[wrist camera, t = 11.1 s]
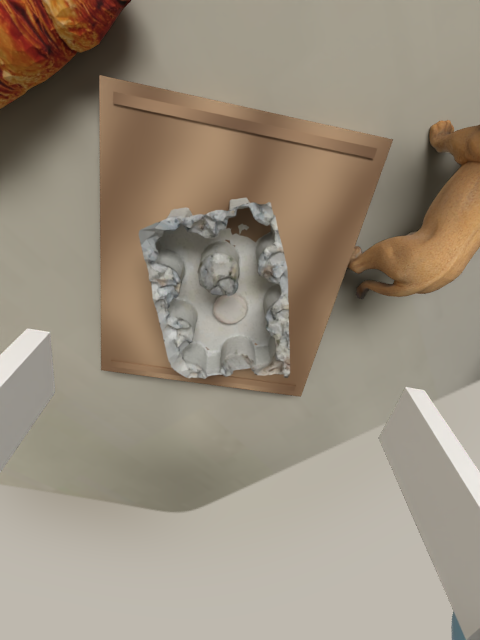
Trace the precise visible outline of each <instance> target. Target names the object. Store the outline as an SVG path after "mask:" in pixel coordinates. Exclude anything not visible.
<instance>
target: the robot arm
mask: <svg viewBox="0 0 480 640" xmlns="http://www.w3.org/2000/svg"><path fill="white" fill-rule="evenodd" d="M54 393H55V384H54V372H53V360H52V348H51V336H50V332H46V331H40V330H33V329H26V330H25V331H24V332H23V333H22V334H21V335H20V336H19V337H18V338H17V339H16V340H15V341H14V342H13V343H12V344H11V345H10V346H9V347H8V348H7V349H6V350H5V351H4V352H3V353H2V354H1V355H0V472H1V471H2V469H3V468H4V466H5V465H6V463H7V462H8V460H9V459H10V458H11V456H12V455H13V453H14V452H15V450H16V449H17V447H18V446H19V444H20V443H21V441H22V440H23V439H24V437H25V436H26V434H27V433H28V431H29V430H30V428H31V427H32V425H33V424H34V423H35V421H36V420H37V418H38V417H39V415H40V414H41V412H42V411H43V409H44V408H45V406H46V405H47V404H48V402H49V401H50V399H51V398H52V396H53V395H54ZM379 440H380V442H381V445H382V447H383V450H384V452H385V454H386V457H387V459H388V461H389V463H390V465H391V468H392V470H393V472H394V475H395V477H396V479H397V482H398V484H399V486H400V489H401V491H402V493H403V496H404V498H405V500H406V503H407V505H408V507H409V509H410V512H411V514H412V516H413V519H414V521H415V523H416V526H417V528H418V530H419V533H420V535H421V537H422V539H423V542H424V544H425V546H426V548H427V551H428V553H429V556H430V558H431V560H432V562H433V565H434V567H435V569H436V572H437V574H438V576H439V578H440V581H441V583H442V585H443V588H444V590H445V592H446V595H447V597H448V599H449V602H450V604H451V606H452V609H453V616H452V640H480V471H479V470H478V468H477V467H476V465H475V464H474V463H473V461H472V460H471V458H470V457H469V455H468V454H467V452H466V451H465V449H464V448H463V446H462V445H461V443H460V442H459V441H458V439H457V438H456V436H455V435H454V433H453V432H452V430H451V429H450V428H449V426H448V424H447V423H446V421H445V420H444V419H443V417H442V416H441V414H440V413H439V411H438V410H437V408H436V407H435V405H434V404H433V402H432V401H431V399H430V398H429V397H428V395H427V394H426V392H425V391H424V390H420V389H414V388H407V387H405V389H404V391H403V392H402V394H401V396H400V398H399V400H398V402H397V404H396V406H395V408H394V409H393V411H392V413H391V415H390V417H389V419H388V421H387V423H386V425H385V426H384V429H383V430H382V432H381V434H380V436H379Z"/></svg>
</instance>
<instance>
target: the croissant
mask: <svg viewBox="0 0 480 640" xmlns="http://www.w3.org/2000/svg"><path fill="white" fill-rule="evenodd" d="M130 1H131V0H0V109H1V108H3V107H4V106H6V105H7V104H9V103H11V102H12V101H14V100H16V99H17V98H19V97H21V96H22V95H24V94H25V93H26V91H27V90H29V89H30V88H32V87H34V86H36V85H38V84H40V83H42V82H44V81H46V80H47V79H48V78H50V77H51V76H52V75H54V74H55V73H56V72H58V71H59V70H60V69H61V68H62V67H63V66H64V65H65V64H67V63H68V62H69V61H70V60H71V59H72V58H73V57H74V56H75V55H76V53H77V52H80V53H81V52H84V51H86V50H90V49H91V48H93V47H95V46H97V45H99V43H100V41H101V40H102V39H103V37H104V36H105V34H106V33H107V32H108V30H109V29H110V27H111V26H112V24H113V23H114V21H115V20H116V18H117V17H118V15H119V14H120V12H121V10H122V9H123V8H124V7H125V6H126V5H127V4H128V3H129V2H130Z"/></svg>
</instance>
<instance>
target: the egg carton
mask: <svg viewBox="0 0 480 640" xmlns="http://www.w3.org/2000/svg"><path fill="white" fill-rule="evenodd" d="M244 208H250V211H251V213H252V215H253V217H254V218H255V220H256V221H258V222H259V223H261V224H263V225H265V226H268V225H270V226H271V232H269V233H267V234H266V235H264V236H262V237H260V238H259V239H258V240H257V242H254V241H253V240H251V239H250V238H249V237H245V236H240V233H241V231H242V230H244V229H245V230H247V229H248V228H249V227H248V226H246V225H243V224H241V225H239V226H238V228H239V235H238V234H234V235H232V233H231V229H232V228H231V229H230V228H227V229H226V226H227V223H228V219H229V218H231V217H235V216H236V213H237V209H244ZM139 239H140V243H141V247H142V252H143V256H144V260H145V262H146V264H147V268H148V273H149V281H150V282H151V286H152V296H153V302H154V305H155V308H156V311H157V314H158V319H159V323H160V327H161V330H162V333H163V339H164V344H165V348H166V352H167V357H168V360H169V363H170V365H171V367H172V368H173V369H174V370H175V371H176V372H178V373H179V374H181V375H183V376H184V377H186V378H203V379H206V378H207V377H208V376H212V375H224V376H225V377H227V376H231V375H232V374H233V371H234V370H241V369H248V368H251V370H252V371H253V372H254V374H256V375H262V376H265V375H273V374H283V375H284V378H288V377H289V375H290V340H289V302H288V271H287V264H286V260H285V255H284V251H283V246H282V243H281V239H280V235H279V231H278V227H277V221H276V217H275V215H274V213H273V210H272V206H271V203H270V202H268V203H267V204H257V203H254V202H253V203H250V202H249V200H248V199H247V198H239V199H231V200H230V204H229V210H228V211H225V210H215V211H212V212H209V213H207V214H206V215H204V214H199V215H194V216H193V215H192V213H191V211H190V210H189V208H186V207H185V208H179V209H173V210H171V212H170V214H169V215H168V217H167V218H166V219H165V220H163V221H160V222H157V223H154V224H152V225H150V226H147V227H145V228H143V229H141V230H139ZM225 239H226V240H230V243H228V242H227V241H225ZM234 245H236V246H235V247H234ZM255 343H256V344H258V345H255ZM206 347H207V348H208V349H209V350H207V348H206Z"/></svg>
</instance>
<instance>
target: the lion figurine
mask: <svg viewBox="0 0 480 640" xmlns="http://www.w3.org/2000/svg"><path fill="white" fill-rule="evenodd" d="M429 137H430V143H431V145H432V146H433V147H434V148H435V149H436V150H437V152H439V153H444V152H449V153H451V154H452V155H453V156H454V159H455V161H456V162H457V163H459V164H461V165H462V166H461V167H460V168H459V169H458V170H457V172H456V173H455V174H454V175H453V176H452V177H451V178H450V179H449V180H448V182H447V183H446V184H445V185H444V186H443V188H442V189H441V190H440V192H439V193H438V195H437V196H436V198H435V199H434V201H433V202H432V204H431V205H430V207H429V209H428V211H427V213H426V215H425V217H424V219H423V225H422V227H421V228H420V229H419V230H418V231H417V232H415V231H414V232H411V233H409V234H408V235H407V236H396V237H393V238H389V239H386V240H383V241H381V242H379V243H377V244H375V245H373V246H372V247H371V248H369V249H368V250H367V251H365V252H364V253H363V254H362V251H361V248H360V247H359V246H355V247H354V250H353V253H352V255H351V258H350V261H349V264H348V266H347V267H348V268H349V269H351V270H352V271H354V272H355V273H358V274H359V273H361V272H363V271H364V270H367V269H378V270H380V271H382V272H384V273H385V274H386V275H388V276H389V277H390V278H392V279H393V280H394V283H393V284H387V283H382V282H377V281H373V280H366V281H364V282H362V283H361V284H360V285H359V286H358V287H357V289H356V290H357V292H356V296H357V298H360V299H363V298H364V296H365V294H366V293H367V291H368V290H369V289H371V290H373V291H375V292H377V293H380V294H383V295H387V296H397V297H401V296H408V295H412V294H415V293H418V294H426V293H430V292H433V291H435V290H438V289H440V288H442V287H443V286H445V285H447V284H448V283H450V282H452V281H453V280H454V279H456V278H457V277H458V276H459V275H460V274H461V273H462V271H463V270H464V268H465V267H466V265H467V264H468V262H469V261H470V259H471V258H472V257H473V255H474V254H475V252H476V251H477V250H478V248H479V247H480V125H478V126H473V127H468V128H464V129H460V130H457V131H455V132H454V127H453V126H452V125H451V122H450V121H449V120H447V121H439V122H437V123H436V124H434V125H432V126H431V128H430V134H429Z"/></svg>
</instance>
